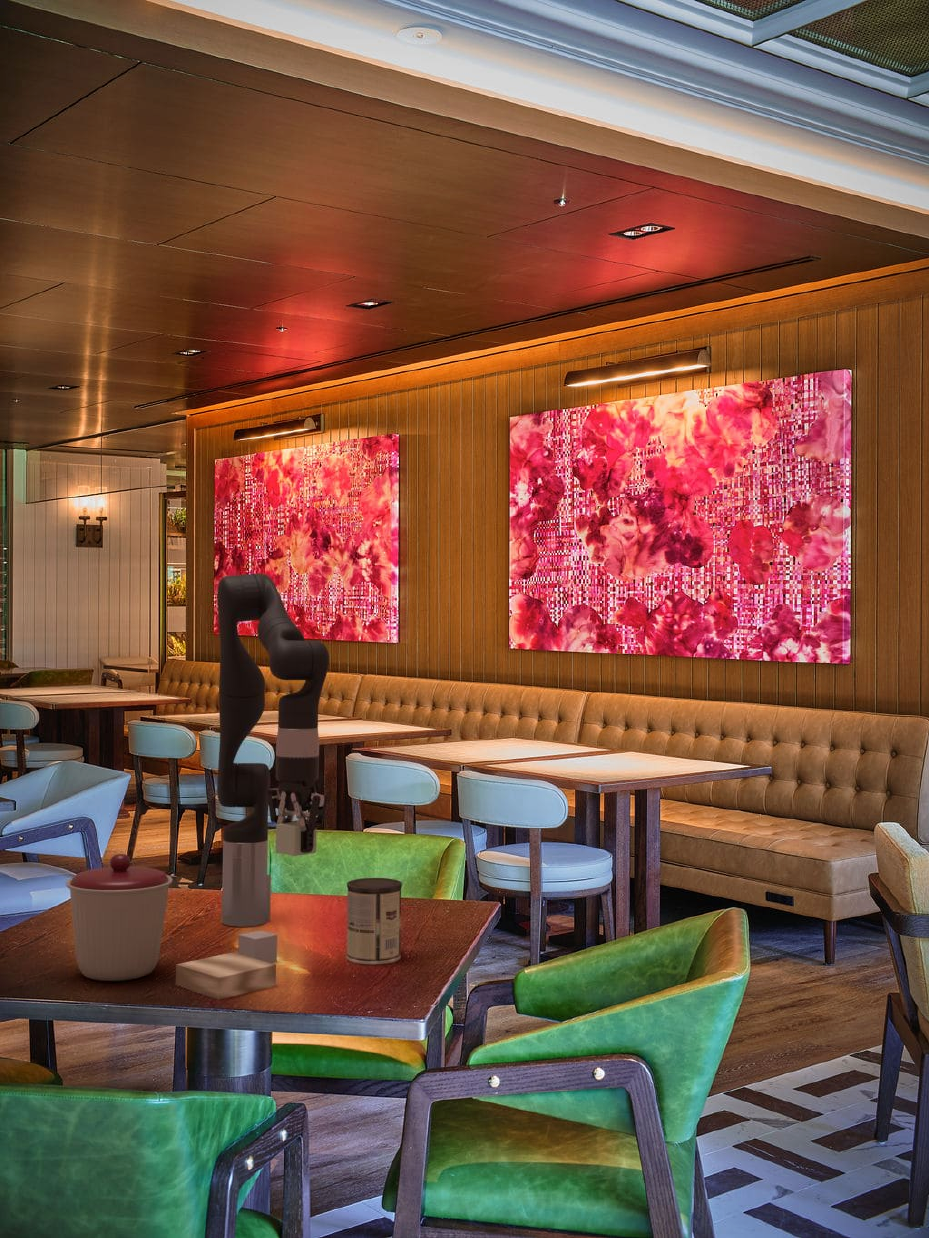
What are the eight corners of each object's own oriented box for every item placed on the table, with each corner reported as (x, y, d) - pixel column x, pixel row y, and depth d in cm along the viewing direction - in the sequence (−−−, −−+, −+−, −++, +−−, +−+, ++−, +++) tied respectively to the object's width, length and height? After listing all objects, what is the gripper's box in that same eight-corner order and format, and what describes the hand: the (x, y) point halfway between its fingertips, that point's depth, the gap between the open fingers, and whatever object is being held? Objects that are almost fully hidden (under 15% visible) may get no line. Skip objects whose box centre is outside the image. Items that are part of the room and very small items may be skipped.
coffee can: (359, 949, 242) (360, 875, 242) (408, 954, 238) (410, 879, 239) (336, 961, 232) (337, 885, 232) (388, 967, 229) (389, 889, 229)
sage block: (297, 849, 225) (297, 821, 225) (316, 852, 222) (316, 824, 222) (275, 852, 221) (276, 824, 221) (294, 856, 218) (294, 827, 218)
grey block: (259, 957, 235) (260, 930, 235) (276, 961, 232) (277, 934, 232) (238, 961, 231) (238, 934, 231) (255, 966, 228) (255, 939, 228)
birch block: (232, 974, 223) (232, 952, 224) (275, 987, 215) (276, 964, 215) (175, 987, 215) (176, 964, 215) (218, 1002, 207) (219, 977, 207)
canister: (84, 960, 230) (86, 844, 231) (182, 962, 230) (184, 846, 230) (48, 987, 212) (51, 861, 213) (154, 989, 212) (157, 864, 212)
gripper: (340, 755, 220) (339, 852, 219) (287, 749, 229) (285, 843, 229) (308, 757, 214) (306, 857, 214) (255, 751, 224) (253, 847, 223)
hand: (295, 849), depth 221 cm, fingers closed on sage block, 5 cm apart
